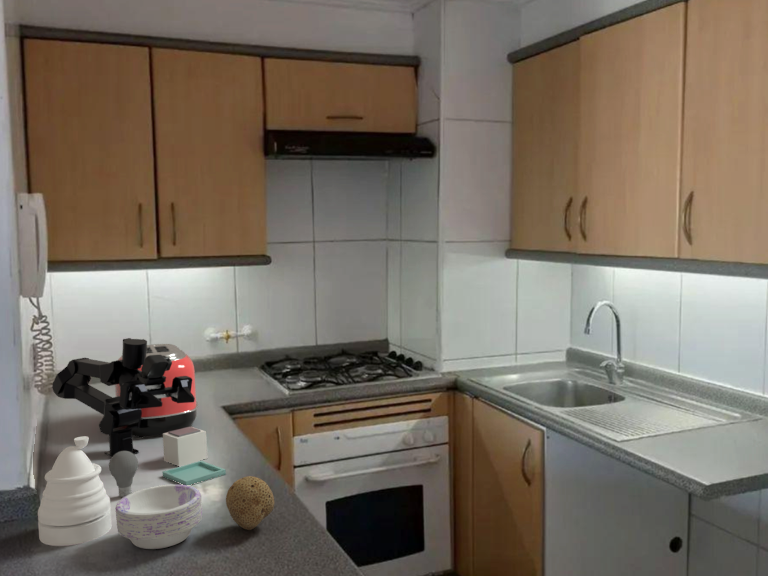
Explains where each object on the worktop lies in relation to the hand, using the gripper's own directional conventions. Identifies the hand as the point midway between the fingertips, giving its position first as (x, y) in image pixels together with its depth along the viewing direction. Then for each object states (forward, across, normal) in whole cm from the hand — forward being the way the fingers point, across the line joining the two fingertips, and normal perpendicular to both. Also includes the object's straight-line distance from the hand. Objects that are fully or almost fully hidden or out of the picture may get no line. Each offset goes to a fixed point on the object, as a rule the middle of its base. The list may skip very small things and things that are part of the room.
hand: (178, 402), depth 170 cm
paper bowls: (+31, -24, +14) cm, 42 cm away
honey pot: (+14, -31, +18) cm, 39 cm away
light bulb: (+6, -15, +18) cm, 24 cm away
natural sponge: (+41, -11, +11) cm, 44 cm away
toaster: (-38, +24, +22) cm, 50 cm away
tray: (+8, +2, +16) cm, 18 cm away
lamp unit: (-4, +8, +17) cm, 19 cm away
